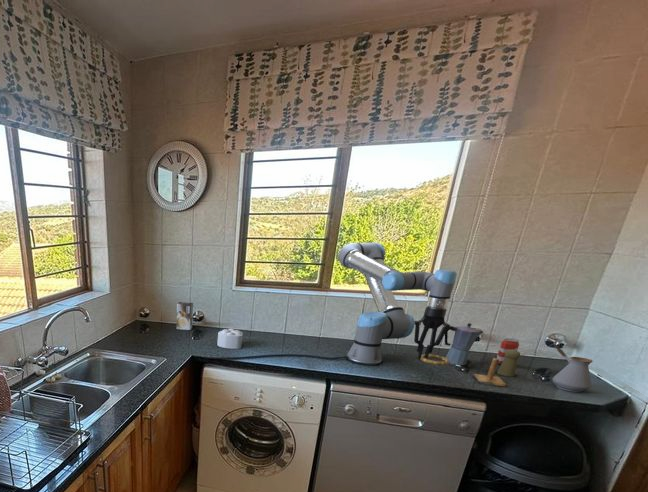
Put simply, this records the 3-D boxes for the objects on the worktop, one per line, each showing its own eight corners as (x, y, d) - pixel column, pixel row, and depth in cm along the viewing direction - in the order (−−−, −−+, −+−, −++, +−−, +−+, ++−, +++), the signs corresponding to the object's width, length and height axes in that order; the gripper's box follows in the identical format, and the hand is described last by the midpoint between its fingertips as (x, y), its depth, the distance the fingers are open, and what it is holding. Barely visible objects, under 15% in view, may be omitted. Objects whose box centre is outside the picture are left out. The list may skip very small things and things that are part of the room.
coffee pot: (596, 394, 160) (613, 359, 155) (564, 393, 162) (579, 357, 156) (554, 375, 180) (567, 343, 174) (526, 374, 181) (538, 342, 176)
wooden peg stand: (478, 383, 171) (486, 360, 167) (472, 376, 179) (479, 354, 175) (505, 386, 168) (513, 363, 164) (497, 379, 175) (505, 357, 172)
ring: (422, 363, 176) (423, 359, 176) (416, 355, 186) (417, 352, 185) (452, 367, 172) (453, 363, 172) (445, 359, 182) (446, 355, 181)
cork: (514, 373, 182) (523, 350, 178) (514, 377, 177) (522, 353, 173) (497, 370, 185) (505, 347, 181) (496, 374, 181) (504, 350, 177)
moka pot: (477, 368, 188) (491, 326, 181) (440, 365, 191) (452, 324, 184) (466, 361, 197) (479, 321, 190) (431, 359, 200) (443, 319, 193)
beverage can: (492, 362, 196) (500, 338, 192) (500, 360, 198) (508, 337, 194) (506, 366, 191) (514, 342, 186) (514, 364, 193) (523, 340, 189)
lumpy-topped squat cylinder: (240, 349, 213) (242, 333, 209) (216, 347, 216) (217, 331, 212) (241, 343, 222) (243, 328, 219) (218, 342, 225) (219, 327, 222)
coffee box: (192, 328, 253) (193, 302, 248) (190, 330, 248) (191, 304, 242) (178, 326, 256) (179, 301, 250) (175, 329, 250) (176, 303, 245)
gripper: (417, 307, 171) (404, 359, 180) (459, 310, 166) (443, 364, 175) (414, 304, 178) (401, 354, 187) (455, 307, 172) (439, 358, 181)
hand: (421, 358), depth 181 cm, fingers closed on ring, 2 cm apart
